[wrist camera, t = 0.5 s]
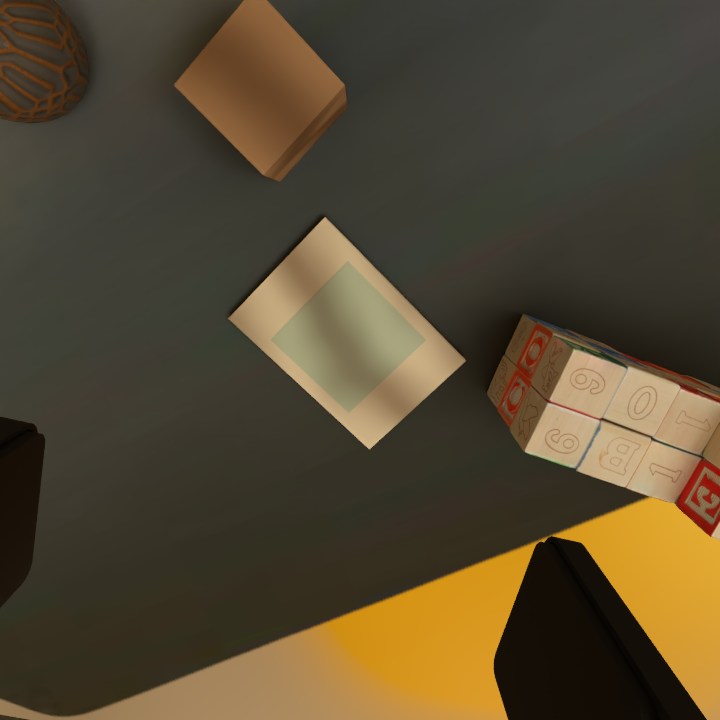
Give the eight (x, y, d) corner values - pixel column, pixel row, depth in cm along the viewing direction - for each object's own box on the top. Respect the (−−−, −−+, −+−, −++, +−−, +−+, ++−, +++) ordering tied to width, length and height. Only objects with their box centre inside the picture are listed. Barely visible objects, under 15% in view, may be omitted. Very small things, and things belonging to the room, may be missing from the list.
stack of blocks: (482, 394, 37) (539, 479, 26) (521, 311, 36) (601, 359, 24) (750, 493, 39) (919, 613, 28) (797, 417, 38) (998, 511, 26)
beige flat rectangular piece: (325, 217, 34) (324, 217, 33) (463, 357, 37) (466, 360, 36) (231, 316, 36) (228, 318, 35) (369, 444, 38) (369, 449, 37)
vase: (76, -16, 31) (-31, -103, 22) (125, 110, 33) (43, 74, 24) (-32, 24, 31) (-178, -46, 23) (21, 146, 33) (-95, 123, 25)
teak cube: (274, 28, 31) (255, -13, 26) (347, 107, 33) (344, 85, 27) (206, 107, 33) (173, 85, 27) (279, 181, 34) (263, 175, 28)
